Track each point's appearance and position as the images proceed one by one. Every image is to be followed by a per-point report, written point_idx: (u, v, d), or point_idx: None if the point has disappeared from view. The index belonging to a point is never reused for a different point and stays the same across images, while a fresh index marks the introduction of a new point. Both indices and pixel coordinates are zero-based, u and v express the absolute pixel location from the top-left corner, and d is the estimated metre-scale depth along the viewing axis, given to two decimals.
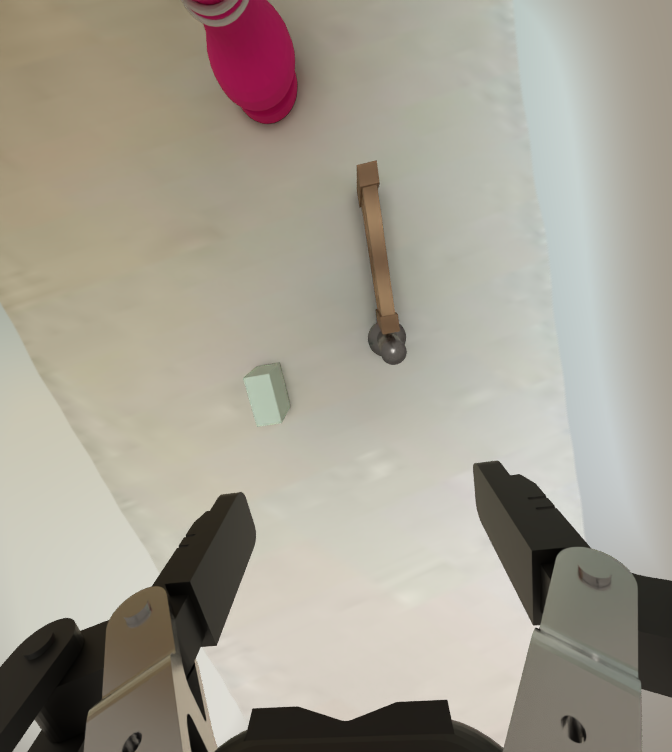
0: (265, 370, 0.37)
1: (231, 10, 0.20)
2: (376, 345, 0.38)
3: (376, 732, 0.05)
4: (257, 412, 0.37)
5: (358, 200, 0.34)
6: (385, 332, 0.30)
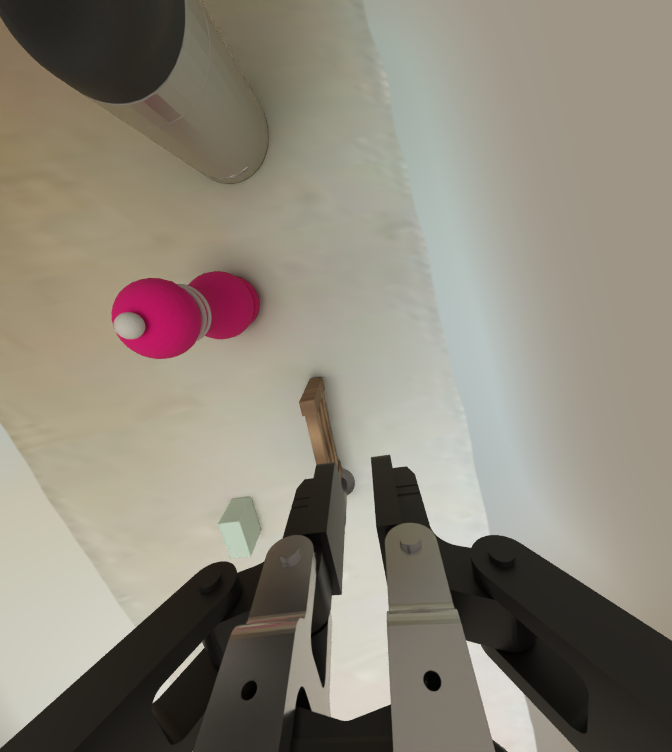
0: (237, 512, 0.45)
1: (195, 339, 0.28)
2: None
3: (376, 732, 0.05)
4: (230, 548, 0.45)
5: None
6: None
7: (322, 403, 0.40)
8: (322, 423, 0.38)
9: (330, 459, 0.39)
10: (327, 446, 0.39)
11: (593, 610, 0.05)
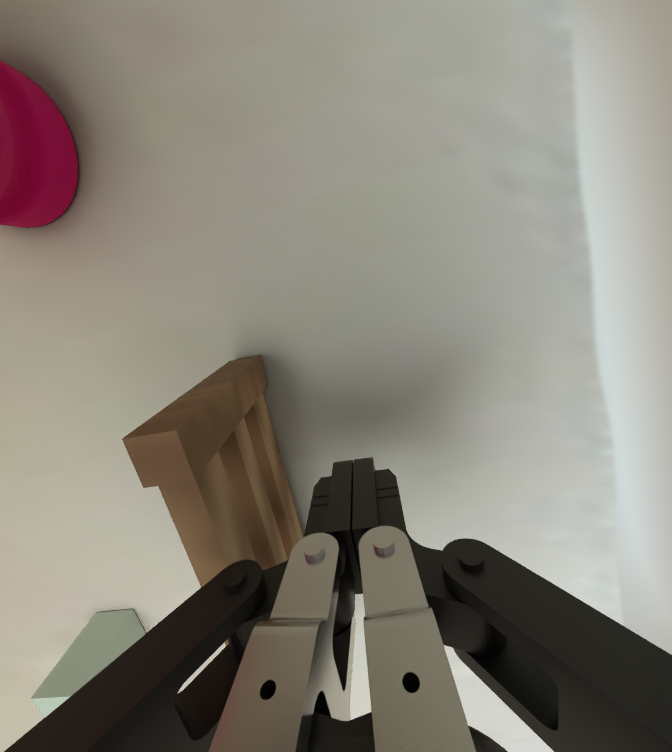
0: (87, 659, 0.20)
1: None
2: None
3: None
4: None
5: None
6: None
7: (257, 424, 0.15)
8: (248, 486, 0.13)
9: None
10: (267, 544, 0.14)
11: (558, 606, 0.06)
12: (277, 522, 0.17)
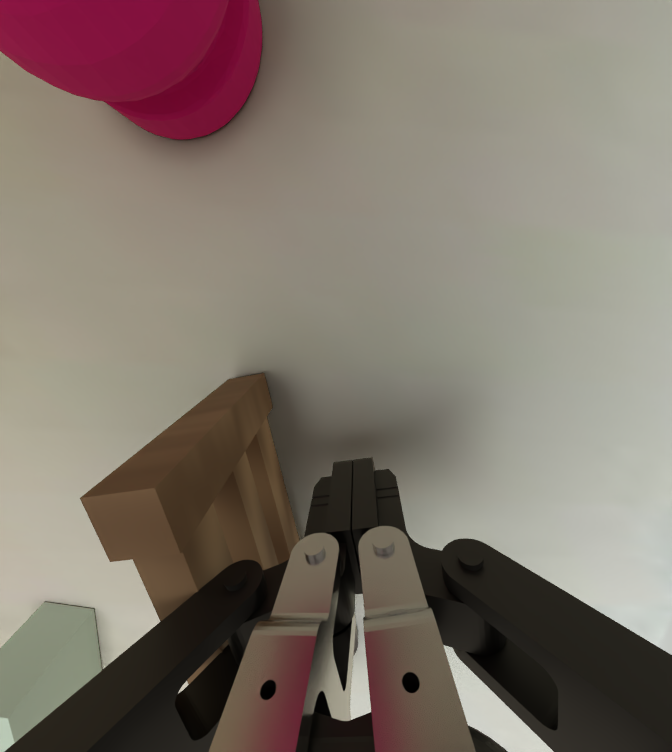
0: (28, 666, 0.16)
1: None
2: None
3: None
4: None
5: None
6: None
7: (260, 455, 0.13)
8: (249, 536, 0.11)
9: None
10: None
11: (557, 606, 0.06)
12: None
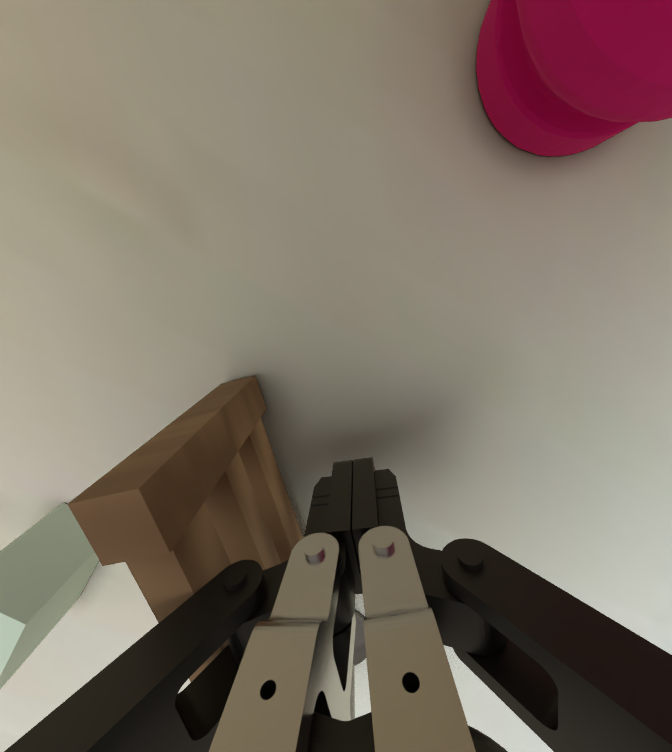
0: (47, 571, 0.14)
1: None
2: None
3: None
4: None
5: None
6: None
7: (256, 457, 0.13)
8: (247, 536, 0.11)
9: None
10: None
11: (557, 607, 0.06)
12: None
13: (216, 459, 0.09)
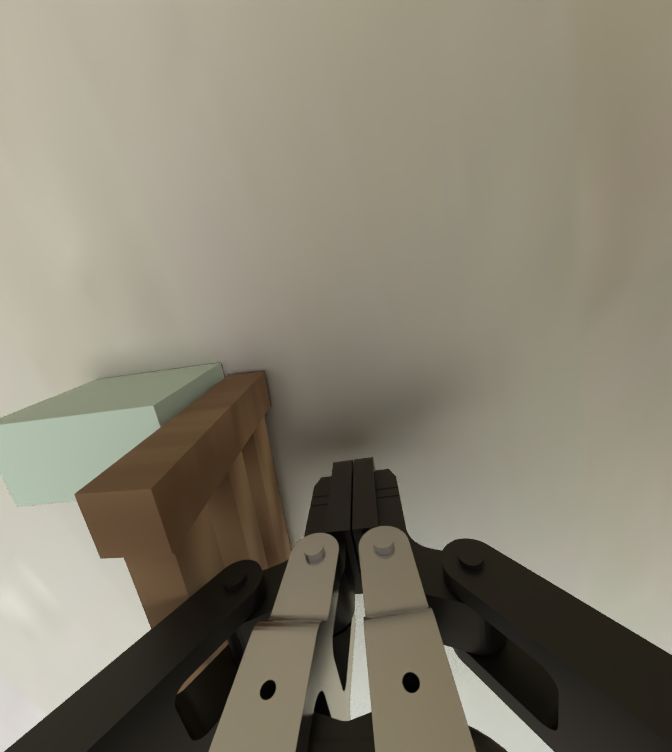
0: None
1: None
2: None
3: None
4: (32, 437, 0.10)
5: None
6: None
7: (255, 454, 0.13)
8: (240, 535, 0.11)
9: None
10: None
11: (558, 607, 0.06)
12: (269, 567, 0.14)
13: (222, 458, 0.09)
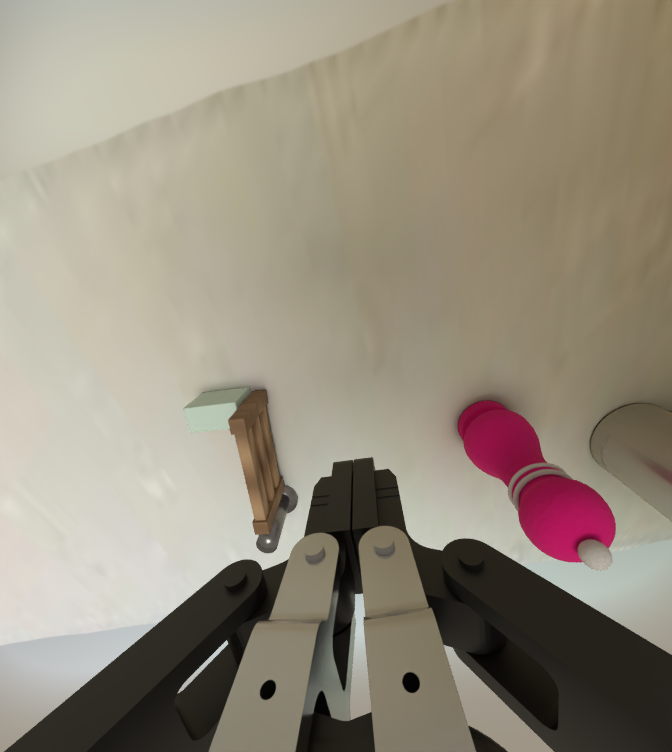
0: None
1: None
2: None
3: None
4: (199, 411, 0.35)
5: None
6: (257, 533, 0.36)
7: (262, 418, 0.38)
8: (258, 440, 0.36)
9: (266, 478, 0.37)
10: (263, 464, 0.37)
11: (558, 607, 0.06)
12: (267, 460, 0.40)
13: (254, 416, 0.34)
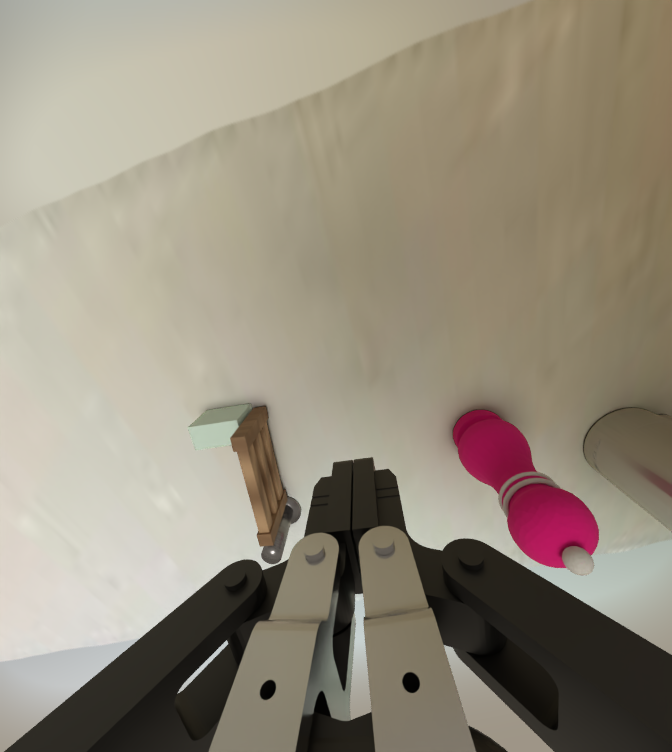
0: None
1: (504, 510, 0.29)
2: None
3: None
4: (203, 429, 0.37)
5: None
6: (262, 545, 0.37)
7: (263, 434, 0.39)
8: (260, 456, 0.37)
9: (269, 491, 0.39)
10: (266, 478, 0.38)
11: (558, 606, 0.06)
12: (270, 474, 0.41)
13: (255, 433, 0.36)
